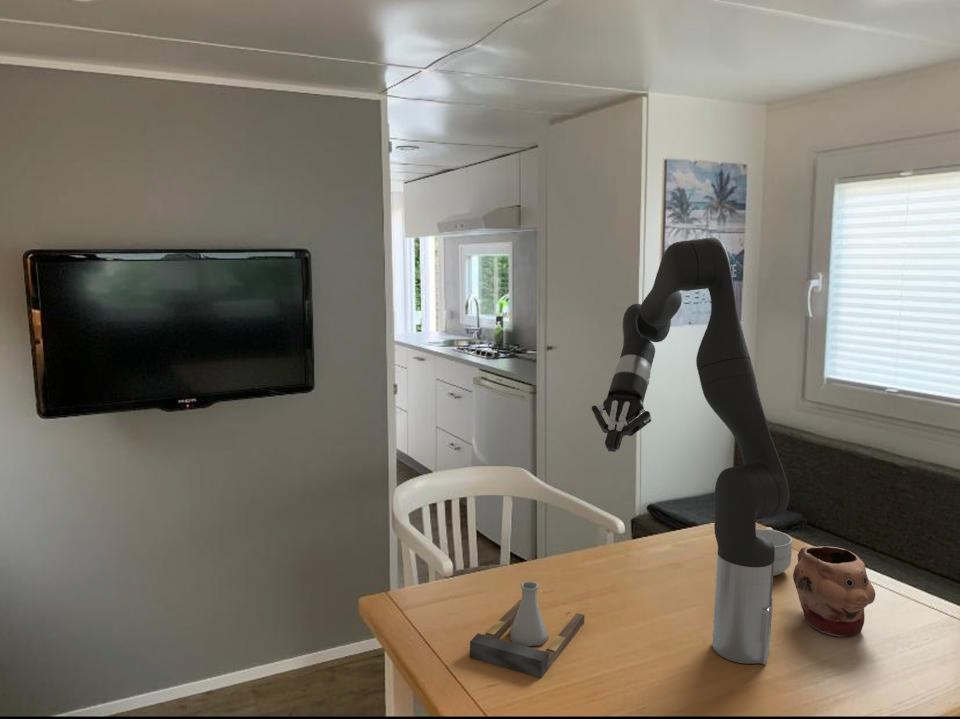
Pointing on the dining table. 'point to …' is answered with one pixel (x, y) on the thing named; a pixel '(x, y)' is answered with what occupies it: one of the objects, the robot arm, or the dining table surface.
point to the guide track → (520, 646)
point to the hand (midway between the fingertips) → (611, 449)
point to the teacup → (778, 548)
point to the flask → (528, 619)
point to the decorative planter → (833, 589)
